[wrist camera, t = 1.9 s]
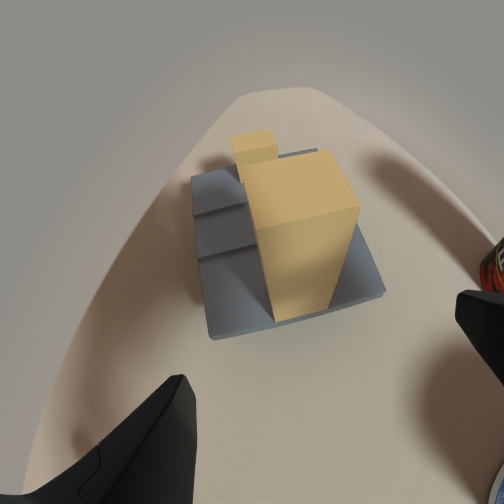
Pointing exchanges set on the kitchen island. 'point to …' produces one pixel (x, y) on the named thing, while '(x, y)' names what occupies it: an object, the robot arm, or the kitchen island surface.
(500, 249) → the deodorant
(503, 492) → the supplement tub
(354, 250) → the gray board with blocks
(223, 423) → the kitchen island surface
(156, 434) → the robot arm
